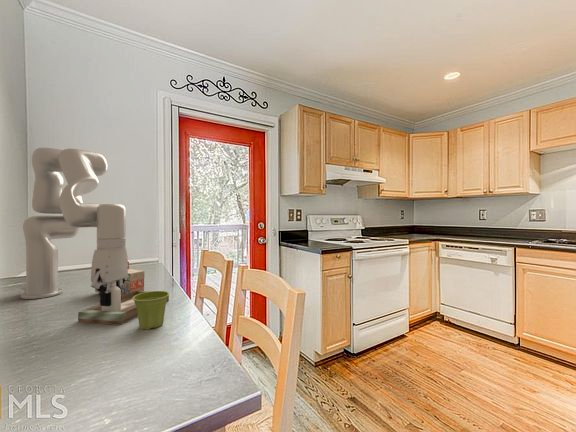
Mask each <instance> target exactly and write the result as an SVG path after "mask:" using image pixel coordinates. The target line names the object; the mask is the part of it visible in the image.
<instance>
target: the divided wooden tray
mask: <svg viewBox="0 0 576 432" xmlns="http://www.w3.org/2000/svg"><path fill="white" fill-rule="evenodd" d="M151 291H152V290H150V291H148V290H147V291H146V290H144V291H135V292H131V293H128V294H125V295H122V301H121V310H120V311H118V312H115V311H102V306H101V305H100V303H99V304H95V305H93V306H91V307H88V308H85V309H82V310H80V311H78V312H77V314H78V315H77V318H78V321H77V322H78V323H85V324H101V325H102V324H103V325H104V324H105V325H114V326H115V325H117V326H121V325H123V324H126V323H127V322H129V321H131V320H133V319H135V318H138V314H137V308H136V305H135V302H134V300H133V297H134V296H135V295H137V294H140V293H145V292H151ZM169 297H170V295H169V296H168V298H167V301H166V302H168V301H170V298H169Z"/></svg>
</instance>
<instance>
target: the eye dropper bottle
mask: <svg viewBox="0 0 576 432" xmlns="http://www.w3.org/2000/svg"><path fill="white" fill-rule="evenodd" d="M109 293H111V306H102V311H115V312H118V311H120V310H121V289H120V288H119V287H117V286H116V281H113V282H110V291H109Z"/></svg>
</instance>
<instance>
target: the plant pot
mask: <svg viewBox="0 0 576 432" xmlns="http://www.w3.org/2000/svg"><path fill="white" fill-rule="evenodd" d="M150 291H151V292H145V293H140V294H137V295H135V296H134V297H133V300H134V302H135V305H136V308H137V314H138V316H137V320H138V325H139V328H140V329H142V330H150V329H152V328H153V329H154V328H155V329H156V328H159V327H161V326H163V325H164V321H165V314H166V313H165V312H166V305H167V302H168V301H167V298H168V296H169V297H170V292H169V291H165V290H153V291H152V290H150Z"/></svg>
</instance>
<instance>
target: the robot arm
mask: <svg viewBox="0 0 576 432" xmlns="http://www.w3.org/2000/svg"><path fill="white" fill-rule="evenodd" d="M31 165H32V168H33V172H34V184H33V190H32V198H31V208H32V210H33V211H34V212H35V213H39V214H47V215H33V216H30V217H27V218H26V219H24V221H23V223H22V232H23V234H24V235H23V236H24V239H25V241H24V242H25V250H26V251H25V258H26V259H25V260H26V261H25V266H26V267H25V268H26V269H25V271H26V272H25V274H26V275H25V277H26V279H25V281H26V282H25V283H24V285H21V286H20V291H21V290H22V291H24V293H22V294H20V298H21V299H23V300H37V299H44V298H49V297H54V296H58V295H60V294H62V293H64V290H63V288H59V249H58V248H57V246H56V245H55V244H54V243H53V242H52V240H57V239H58V240H59V239H71V238H74V237H76V236H77V234H78V233H79V231H80V229H81V228H83V229H84V228H96V249H94V251H93V255H92V261H91V268H90V269H91V271H90V282H91V285H90V287H91V288H93V289H94V290H95V289H97V290H98V292H99V299H100V301H99V304H100V305H101V306H111V293H109V291H110V282H113V281H116V286H117V287H119V288H120V289H121V301H122V288H123V284H124V282H125V280H126V279H127V278H128V277H129V275H128V262H129V261H128V259H129V258H128V252H127V247H126V230H127V229H126V221H127V220H126V217H127V216H126V215H127V214H126V212H127V211H126V207H125V205H123V204H118V203H90V202H89V203H85V202H83V198H82V195H85V194H88V193H91V192H93V191H94V190H96V189H97V188H98V186H99V182H100V181H99V179H98V177H99V176H103V175H105V173H106V172H107V171H108V162H107V159H106V158H105V157H104V155H102V154H101V153H98V152H95V151H90V150H84V149H78V148H65V149H59V148H53V147H38V148H36V149H35V150H33V152H32V154H31ZM62 173H63V176H64V177H63V176H62ZM64 178H65V181H66V182H67V184H66V185H65V187H64ZM49 214H53V215H49ZM54 214H55V215H54ZM56 214H58V215H56ZM59 214H61V215H59ZM104 284H105V285H106V286H105V287H104Z"/></svg>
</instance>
